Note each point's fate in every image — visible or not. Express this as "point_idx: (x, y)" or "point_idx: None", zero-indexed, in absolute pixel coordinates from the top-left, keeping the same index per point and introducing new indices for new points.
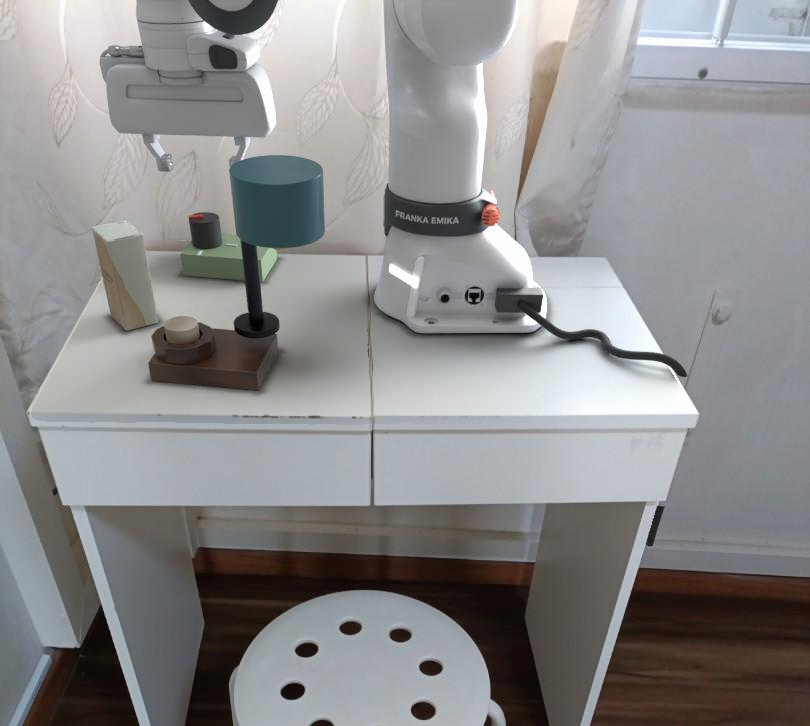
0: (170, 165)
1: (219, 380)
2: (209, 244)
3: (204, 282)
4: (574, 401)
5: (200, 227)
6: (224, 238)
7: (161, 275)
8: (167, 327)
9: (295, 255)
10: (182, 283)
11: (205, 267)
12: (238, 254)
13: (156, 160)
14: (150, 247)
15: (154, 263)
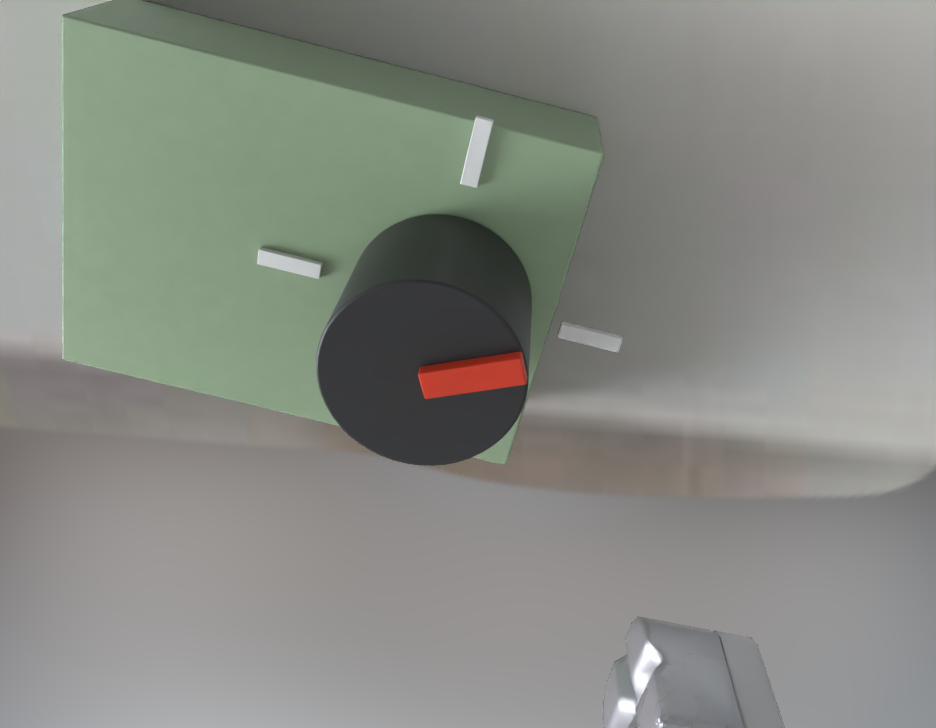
0: (629, 693)
1: None
2: (412, 226)
3: (469, 14)
4: None
5: (443, 271)
6: None
7: (725, 131)
8: None
9: (36, 342)
10: (600, 5)
11: (453, 93)
12: (225, 120)
13: (780, 719)
14: (773, 480)
15: (760, 293)
